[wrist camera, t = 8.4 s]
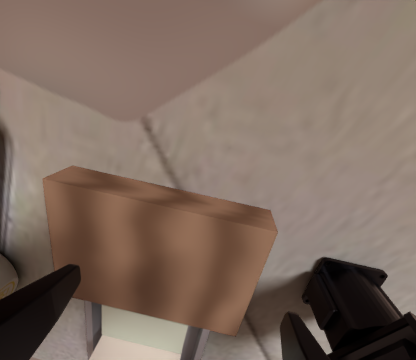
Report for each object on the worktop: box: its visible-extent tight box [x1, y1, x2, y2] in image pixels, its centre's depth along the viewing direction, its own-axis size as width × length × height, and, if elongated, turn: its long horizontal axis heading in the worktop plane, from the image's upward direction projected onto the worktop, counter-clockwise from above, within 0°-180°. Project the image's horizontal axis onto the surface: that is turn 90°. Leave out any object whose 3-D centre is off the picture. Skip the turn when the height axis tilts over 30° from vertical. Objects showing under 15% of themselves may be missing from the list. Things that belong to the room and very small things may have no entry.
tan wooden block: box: [43, 166, 278, 337], centre depth 21 cm, size 20×14×4 cm
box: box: [85, 301, 210, 360], centre depth 27 cm, size 15×15×3 cm
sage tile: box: [102, 305, 188, 354], centre depth 25 cm, size 10×6×2 cm, turn 78°
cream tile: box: [89, 335, 182, 360], centre depth 25 cm, size 10×6×2 cm
